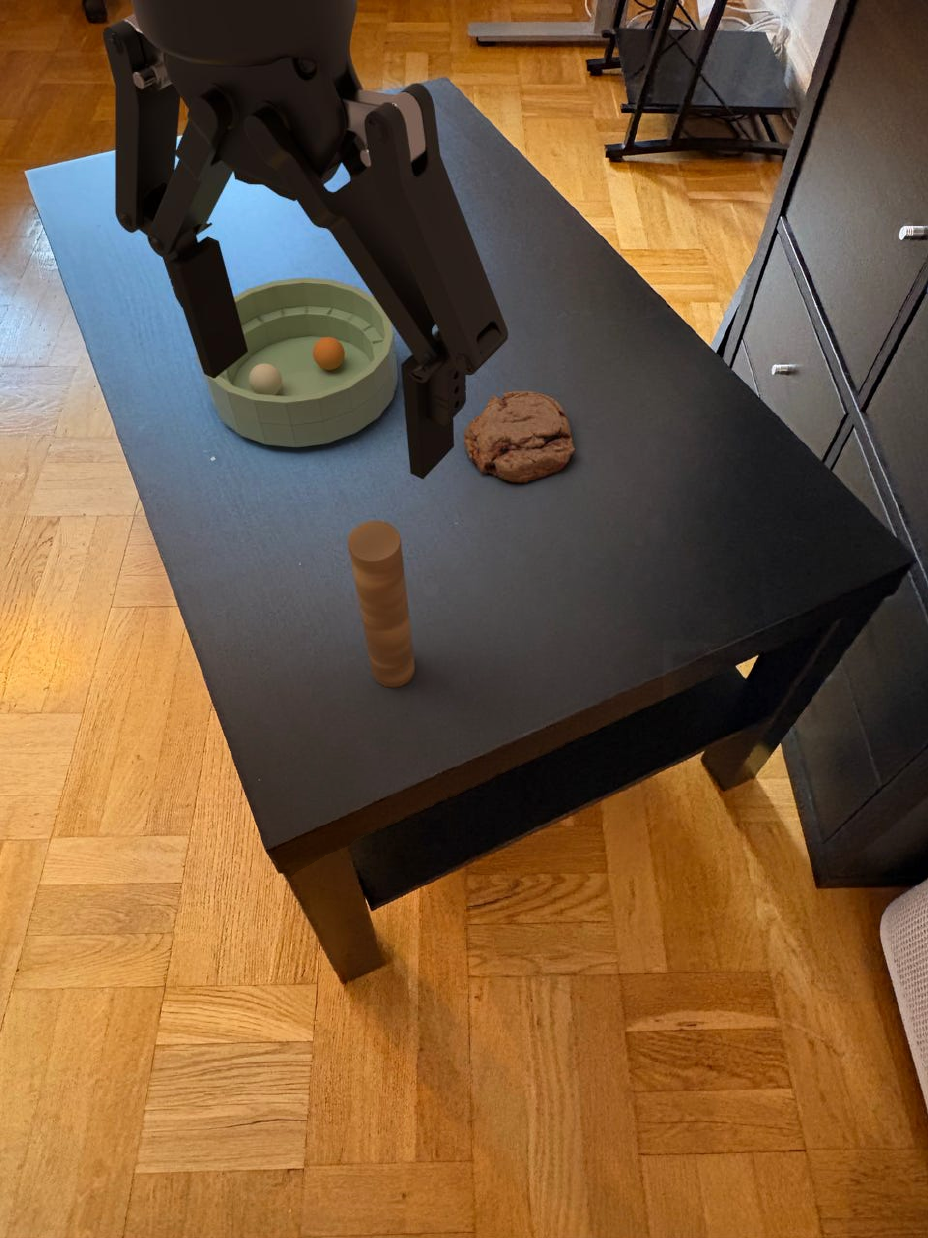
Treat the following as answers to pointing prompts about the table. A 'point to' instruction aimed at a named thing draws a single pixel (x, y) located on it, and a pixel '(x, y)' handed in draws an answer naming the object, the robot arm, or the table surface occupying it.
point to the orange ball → (328, 353)
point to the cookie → (520, 437)
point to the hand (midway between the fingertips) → (324, 409)
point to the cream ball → (265, 379)
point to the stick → (383, 600)
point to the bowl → (308, 363)
